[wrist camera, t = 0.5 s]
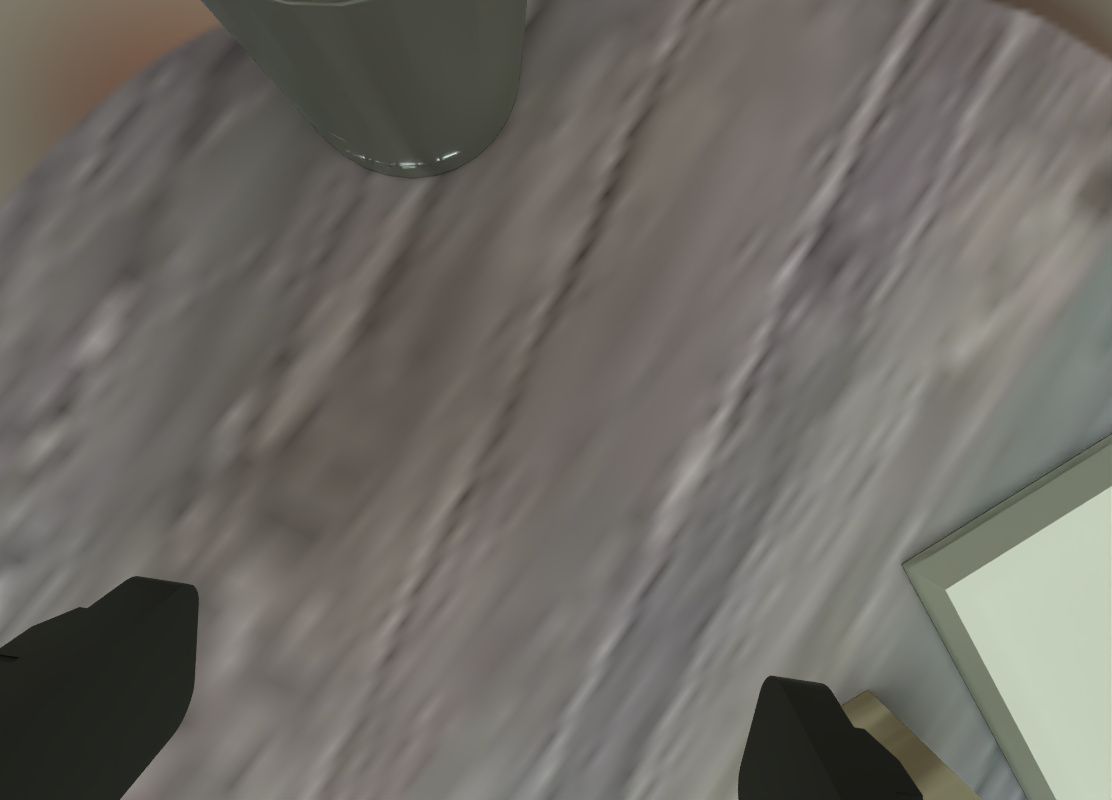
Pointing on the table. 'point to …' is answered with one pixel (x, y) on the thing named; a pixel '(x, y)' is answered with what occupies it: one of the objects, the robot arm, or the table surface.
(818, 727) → the robot arm
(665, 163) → the table surface
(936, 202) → the table surface
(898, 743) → the block
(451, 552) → the table surface
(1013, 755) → the tray
